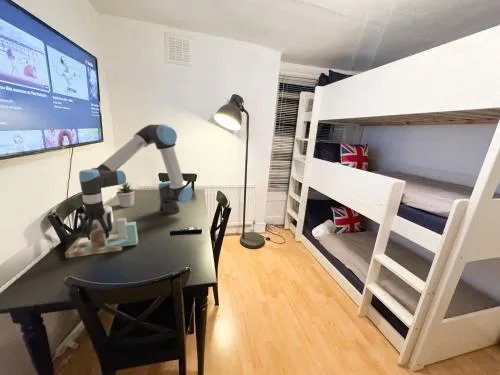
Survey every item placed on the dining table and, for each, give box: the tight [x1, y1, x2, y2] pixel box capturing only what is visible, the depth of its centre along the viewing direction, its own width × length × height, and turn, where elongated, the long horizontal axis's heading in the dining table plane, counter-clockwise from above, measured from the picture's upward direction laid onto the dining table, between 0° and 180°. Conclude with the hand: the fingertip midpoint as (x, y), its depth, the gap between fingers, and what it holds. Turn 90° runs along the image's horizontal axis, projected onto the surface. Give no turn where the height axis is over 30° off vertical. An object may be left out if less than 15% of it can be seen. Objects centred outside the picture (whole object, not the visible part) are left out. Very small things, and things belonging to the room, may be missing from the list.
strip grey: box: [77, 217, 128, 244], centre depth 114 cm, size 23×5×11 cm, turn 109°
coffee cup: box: [95, 204, 113, 233], centre depth 127 cm, size 10×10×15 cm
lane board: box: [64, 233, 125, 259], centre depth 112 cm, size 23×16×3 cm
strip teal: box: [85, 221, 139, 250], centre depth 109 cm, size 23×5×11 cm, turn 109°
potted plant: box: [115, 182, 136, 208], centre depth 168 cm, size 13×14×20 cm
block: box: [90, 229, 105, 248], centre depth 108 cm, size 5×5×7 cm
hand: (99, 244), depth 108 cm, fingers closed on block, 5 cm apart
